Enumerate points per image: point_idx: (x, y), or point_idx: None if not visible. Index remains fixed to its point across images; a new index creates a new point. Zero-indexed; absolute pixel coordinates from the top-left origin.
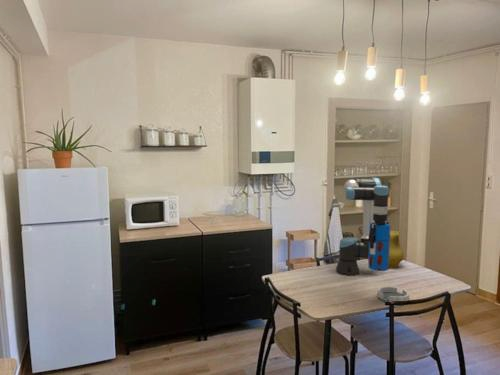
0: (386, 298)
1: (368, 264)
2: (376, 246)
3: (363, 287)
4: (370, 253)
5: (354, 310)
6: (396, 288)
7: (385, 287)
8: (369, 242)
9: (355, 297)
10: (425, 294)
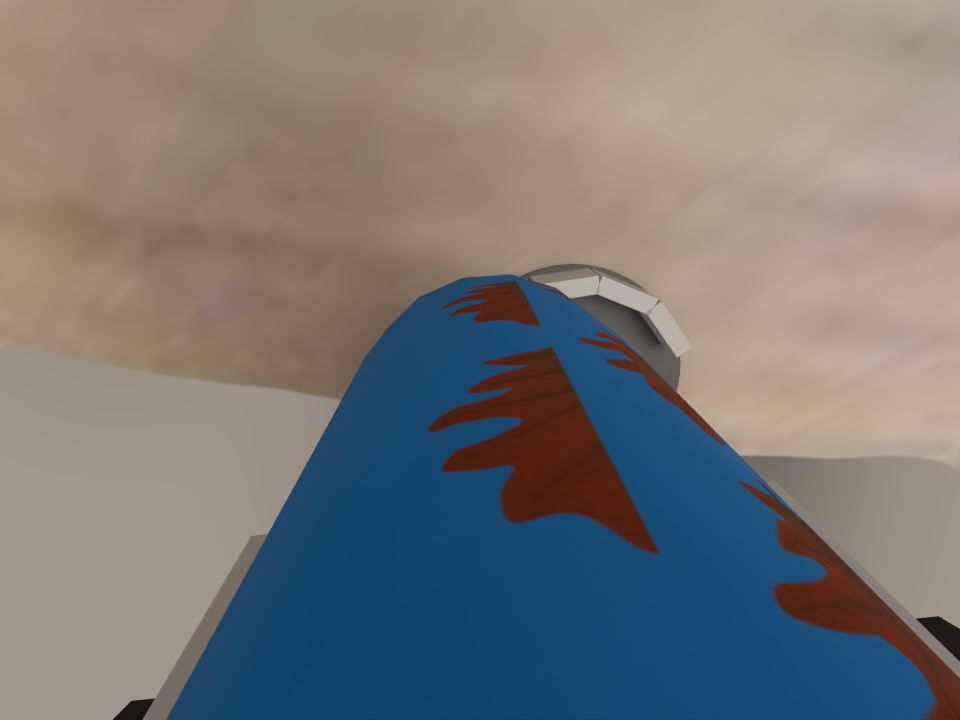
0: None
1: (392, 326)
2: None
3: (574, 71)
4: (250, 549)
5: (167, 371)
6: (673, 352)
7: (611, 299)
8: (174, 709)
9: (333, 208)
10: (815, 438)
